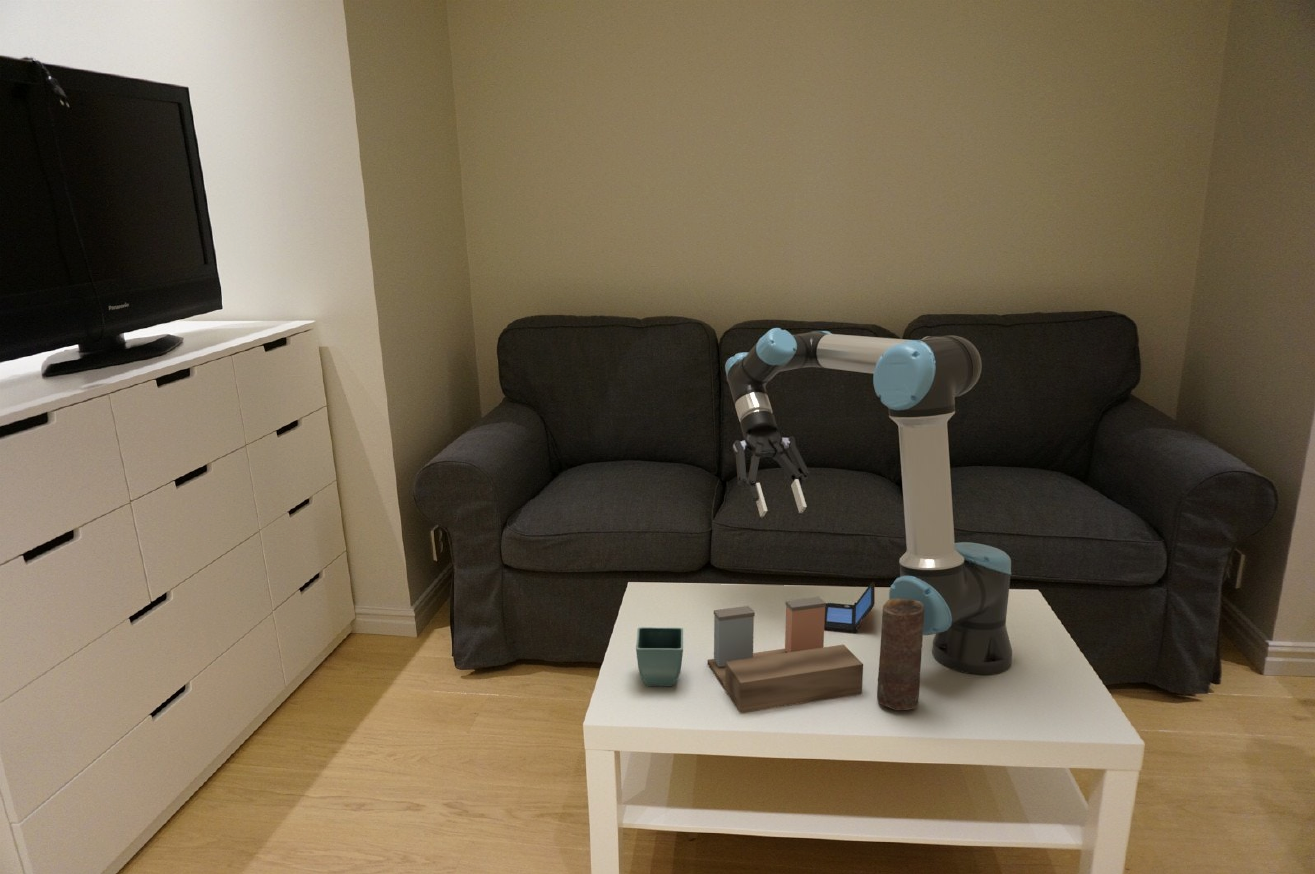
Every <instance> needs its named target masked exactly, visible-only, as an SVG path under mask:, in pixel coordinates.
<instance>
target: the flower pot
mask: <svg viewBox="0 0 1315 874" xmlns="http://www.w3.org/2000/svg"><path fill="white" fill-rule="evenodd" d="M635 645H636V646H635V651H636V659H637V667H638V673H639V675H640V677H641V679H642V682H643V683H644V684H645V685H646V686H647V687H673V686H674V685H675V683H676V682H677V681H678V679H679V676H680V674H681V671H682V670H681V669H682V662H683V654H684V629H683V628H682V627H647V626H646V627H644V626H643V627H638V628H637V633H636V644H635Z"/></svg>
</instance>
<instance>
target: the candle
mask: <svg viewBox="0 0 1315 874" xmlns="http://www.w3.org/2000/svg"><path fill="white" fill-rule="evenodd" d="M924 611H925V607H924V605H923V603H922V602H919V601H915V600H911V599H904V600H902V599H899V598H897V599H896V598H894V599H889V598H888V599H887V601H885V602H884V604H883V606H882V612H881V613H882V615H881V618H882V619H881V629H880V630H881V631H880V633H881V634H880V648H879V649H880V650H879V659H878V663H879V664H878V671H877V672H878V673H877V674H878V677H877V688H876V699H877V701H878V702H879V704H880V705H884V706H886V707H888V708H890V709H893V710H895V711H901V710H902V711H904V710H907V711H908V710H912V709H913V710H914V709H916V708H917V707H918V706H919V699H920V687H921V685H920V683H921V669H922V668H921V667H922V653H923V652H922V650H923V648H922V647H923V640H924V639H923V637H924V635H923V624H924Z"/></svg>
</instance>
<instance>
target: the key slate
mask: <svg viewBox="0 0 1315 874" xmlns="http://www.w3.org/2000/svg"><path fill="white" fill-rule="evenodd" d="M713 616H714V618H713V619H714V620H713V622H714V623H713V625H714V627H713V639H714V640H713V659H714V661H715V662H716V664H717V665H718V666H719V667H724V666H726V662H727V661H734V660H741V659H748V658H753V653H754V629H755V628H754V623H755V622H754V619H755V611H754V610H753V609H752V608H751V606H750V605H743V606H736V607H729V608H721V609H719V608H718V609H714V610H713Z"/></svg>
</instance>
